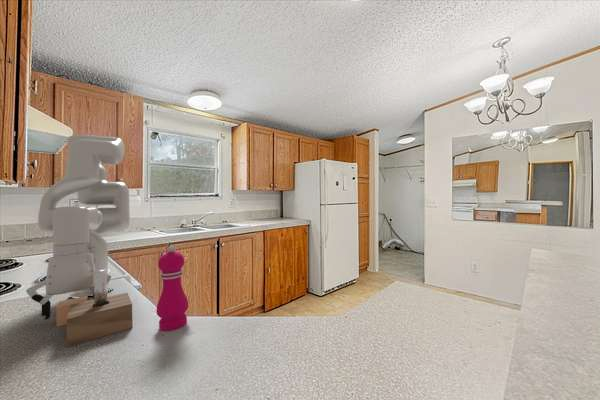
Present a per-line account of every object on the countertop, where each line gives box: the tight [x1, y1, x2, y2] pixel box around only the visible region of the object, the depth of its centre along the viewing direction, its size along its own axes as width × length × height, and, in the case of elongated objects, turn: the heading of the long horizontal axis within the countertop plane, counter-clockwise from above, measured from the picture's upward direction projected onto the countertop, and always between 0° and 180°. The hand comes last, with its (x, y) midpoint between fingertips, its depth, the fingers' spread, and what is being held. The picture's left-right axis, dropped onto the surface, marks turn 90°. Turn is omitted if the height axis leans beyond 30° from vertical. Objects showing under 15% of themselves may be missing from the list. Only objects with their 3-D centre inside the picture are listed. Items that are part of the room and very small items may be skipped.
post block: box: [66, 292, 134, 347], centre depth 63 cm, size 12×12×6 cm
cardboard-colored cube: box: [55, 296, 88, 327], centre depth 69 cm, size 6×6×5 cm
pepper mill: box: [155, 245, 189, 332], centre depth 63 cm, size 7×7×20 cm
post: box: [94, 269, 108, 307], centre depth 63 cm, size 3×3×9 cm
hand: (72, 312), depth 68 cm, fingers open, 9 cm apart
